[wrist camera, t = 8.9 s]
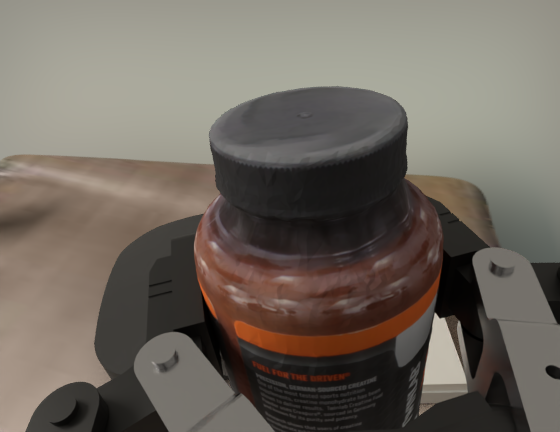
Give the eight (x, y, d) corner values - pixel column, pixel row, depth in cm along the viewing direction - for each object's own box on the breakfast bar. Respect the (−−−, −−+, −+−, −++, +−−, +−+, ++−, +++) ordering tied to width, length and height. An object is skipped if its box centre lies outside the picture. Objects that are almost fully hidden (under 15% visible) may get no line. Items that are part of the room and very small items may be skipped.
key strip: (466, 402, 20) (470, 385, 19) (348, 404, 21) (348, 388, 20) (399, 206, 35) (400, 191, 34) (331, 211, 36) (330, 196, 35)
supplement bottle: (453, 465, 13) (558, 132, 6) (277, 547, 11) (172, 243, 5) (362, 326, 17) (366, 57, 11) (230, 374, 16) (146, 103, 10)
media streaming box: (294, 221, 36) (291, 193, 34) (338, 359, 24) (336, 327, 22) (133, 253, 35) (121, 226, 33) (95, 411, 23) (73, 383, 21)
